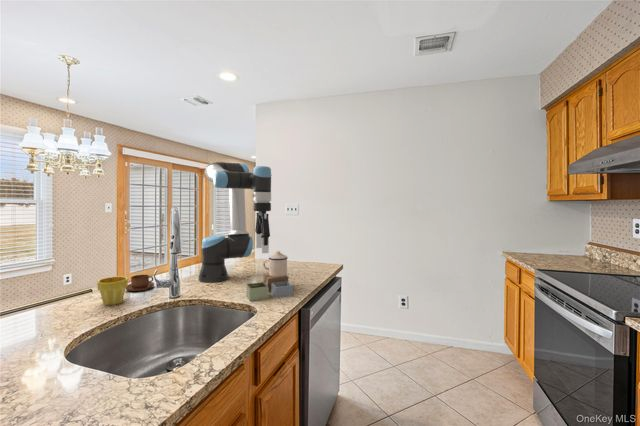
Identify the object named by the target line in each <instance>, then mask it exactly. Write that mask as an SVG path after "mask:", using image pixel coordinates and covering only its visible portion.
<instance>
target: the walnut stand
mask: <svg viewBox="0 0 640 426" xmlns="http://www.w3.org/2000/svg"><path fill="white" fill-rule="evenodd" d="M285 281H288V282H290V281H289V276H288V274H287V275H286V276H283V277H272V276H270V275H269V272H268V273H262V282H265V283H266V285H267V286H268V293H271V283H275V282H285Z"/></svg>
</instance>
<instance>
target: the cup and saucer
mask: <svg viewBox="0 0 640 426" xmlns="http://www.w3.org/2000/svg"><path fill="white" fill-rule="evenodd" d="M150 278H151V280H150ZM153 281H154V277H153V276H152V275H148V274H136V275H132V276H130V283H128V285H127V287H126V288H125V290H127V291H131V292H139V291H140V292H141V291H142V292H143V291H146V290H149V289H152V288H153V287H154V286H155V283H154V282H153Z"/></svg>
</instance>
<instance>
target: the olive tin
mask: <svg viewBox="0 0 640 426" xmlns="http://www.w3.org/2000/svg"><path fill="white" fill-rule="evenodd" d="M246 298H247V299H248V301H249V302H250V303H251V302H257V301H266V300H267V301H268V300H269V292H268V286H267V285H266V283H265V282H263V281H262V282H261V281H260V282H250V283H246Z"/></svg>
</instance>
